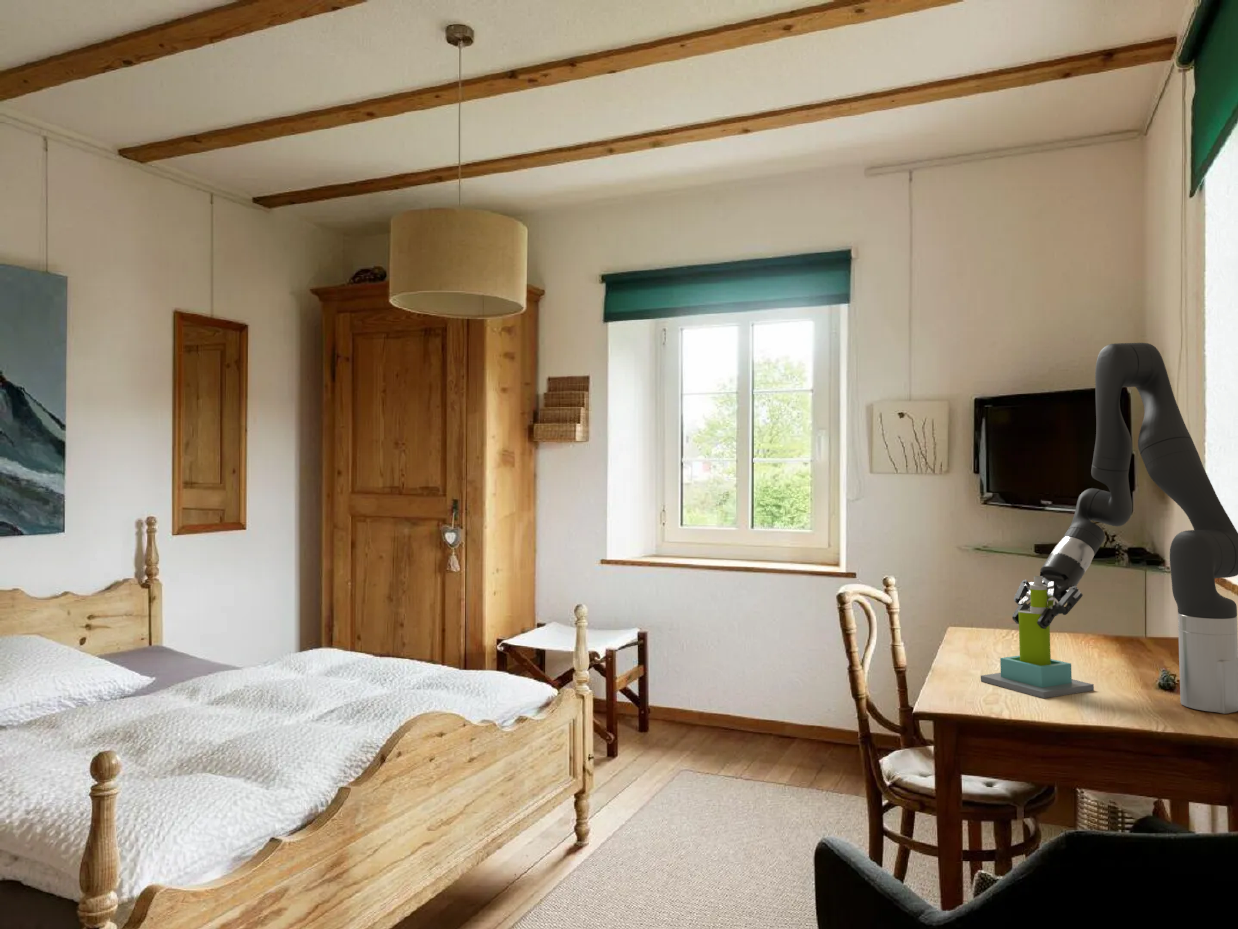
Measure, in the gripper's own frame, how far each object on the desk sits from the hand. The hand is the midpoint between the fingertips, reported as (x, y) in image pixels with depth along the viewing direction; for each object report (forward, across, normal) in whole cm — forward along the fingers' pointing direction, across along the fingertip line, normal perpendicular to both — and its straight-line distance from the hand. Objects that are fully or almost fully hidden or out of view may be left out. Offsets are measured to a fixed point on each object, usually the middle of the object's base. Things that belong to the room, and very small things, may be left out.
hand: (1028, 623), depth 178 cm
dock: (+8, 0, +10) cm, 13 cm away
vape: (+6, 0, +9) cm, 11 cm away
